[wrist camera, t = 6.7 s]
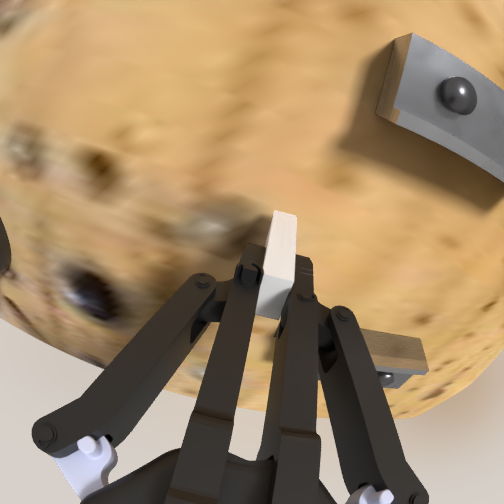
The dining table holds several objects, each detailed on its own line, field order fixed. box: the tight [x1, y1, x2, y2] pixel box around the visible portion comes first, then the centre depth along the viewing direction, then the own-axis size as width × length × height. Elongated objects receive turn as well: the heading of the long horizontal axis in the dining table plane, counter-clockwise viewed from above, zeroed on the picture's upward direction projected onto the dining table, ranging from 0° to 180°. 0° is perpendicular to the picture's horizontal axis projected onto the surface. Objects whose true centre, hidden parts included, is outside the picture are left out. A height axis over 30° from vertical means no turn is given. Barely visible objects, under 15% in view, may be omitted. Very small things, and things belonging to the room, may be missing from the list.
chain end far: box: [318, 329, 429, 389], centre depth 25 cm, size 14×6×4 cm, turn 79°
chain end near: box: [375, 33, 504, 182], centre depth 12 cm, size 14×6×4 cm, turn 79°
